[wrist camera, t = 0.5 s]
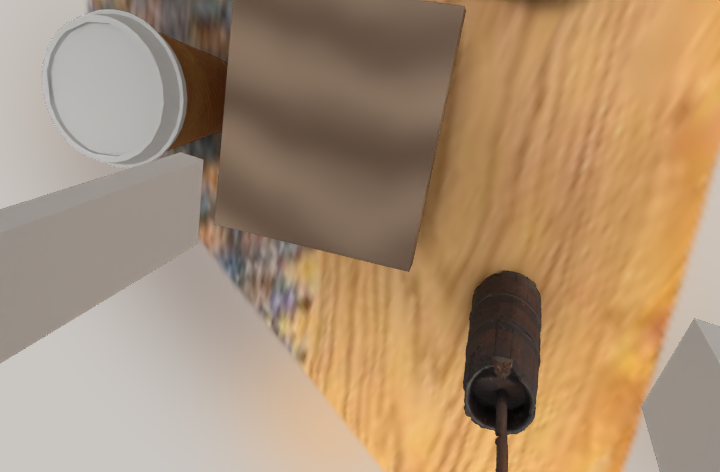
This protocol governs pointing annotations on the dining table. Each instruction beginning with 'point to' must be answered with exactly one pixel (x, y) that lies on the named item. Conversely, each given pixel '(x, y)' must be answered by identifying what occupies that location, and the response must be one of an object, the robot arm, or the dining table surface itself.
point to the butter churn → (503, 357)
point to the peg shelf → (335, 121)
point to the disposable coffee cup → (129, 89)
